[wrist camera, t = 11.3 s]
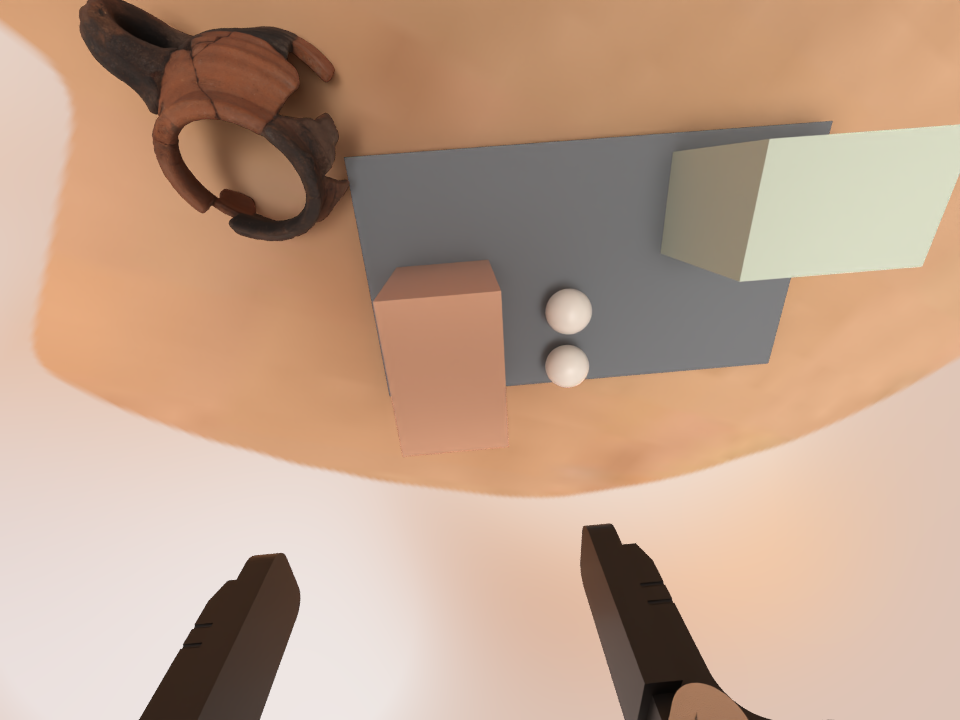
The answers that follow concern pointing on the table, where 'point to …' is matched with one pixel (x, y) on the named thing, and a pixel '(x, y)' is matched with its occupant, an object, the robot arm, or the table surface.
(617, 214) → the slate mat
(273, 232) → the brown sculpted ring
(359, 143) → the table surface
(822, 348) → the table surface
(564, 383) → the marble
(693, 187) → the pale green cuboid
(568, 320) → the marble
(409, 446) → the upright salmon pillar
